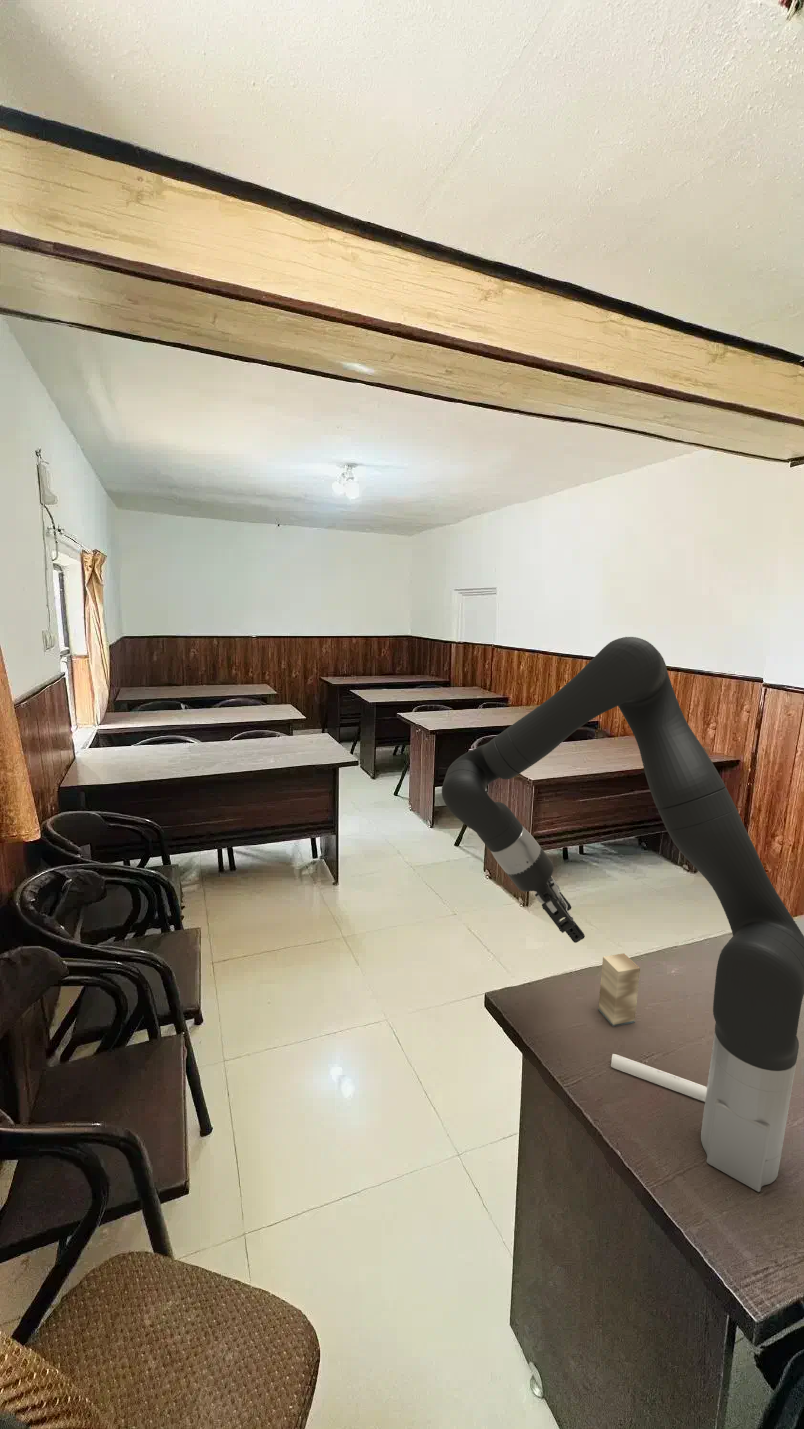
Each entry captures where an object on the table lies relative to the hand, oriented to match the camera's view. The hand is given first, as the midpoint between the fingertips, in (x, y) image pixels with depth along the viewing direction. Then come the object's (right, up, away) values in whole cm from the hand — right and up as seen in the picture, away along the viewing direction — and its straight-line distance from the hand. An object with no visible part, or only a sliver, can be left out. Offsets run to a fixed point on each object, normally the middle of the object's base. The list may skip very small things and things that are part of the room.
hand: (573, 924), depth 98 cm
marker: (+12, -22, -11) cm, 27 cm away
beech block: (+9, -19, +4) cm, 21 cm away
